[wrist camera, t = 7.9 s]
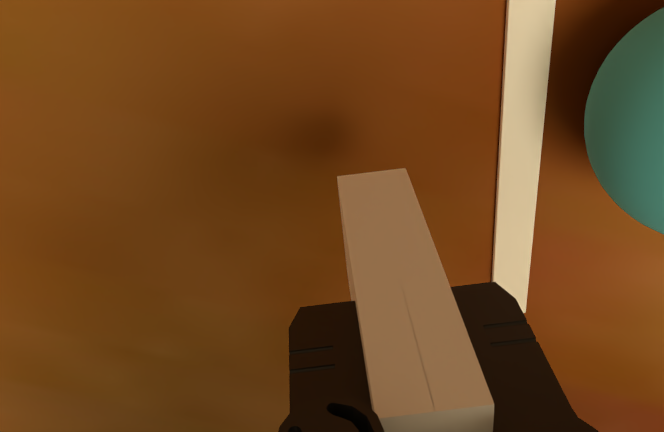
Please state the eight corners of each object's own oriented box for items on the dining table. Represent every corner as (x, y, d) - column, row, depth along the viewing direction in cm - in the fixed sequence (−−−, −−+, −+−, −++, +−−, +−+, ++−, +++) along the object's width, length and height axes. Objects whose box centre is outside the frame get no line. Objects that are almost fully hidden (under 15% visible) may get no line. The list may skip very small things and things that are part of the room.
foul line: (523, 308, 22) (525, 312, 21) (489, 312, 22) (491, 316, 22) (578, -262, 13) (581, -263, 13) (520, -255, 13) (523, -256, 13)
